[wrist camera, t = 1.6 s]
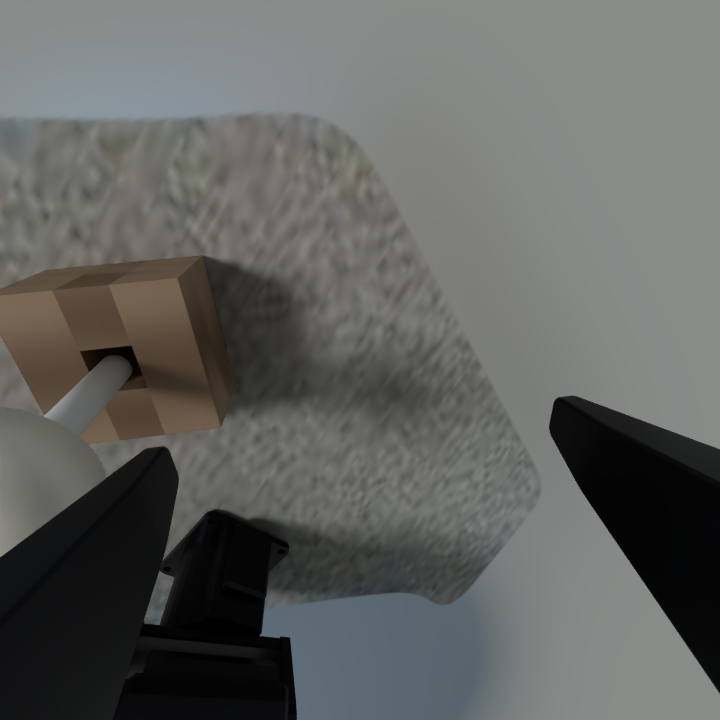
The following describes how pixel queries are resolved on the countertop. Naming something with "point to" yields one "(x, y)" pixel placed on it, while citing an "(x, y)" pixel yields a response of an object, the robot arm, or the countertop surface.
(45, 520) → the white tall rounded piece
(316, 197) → the countertop surface
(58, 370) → the block
